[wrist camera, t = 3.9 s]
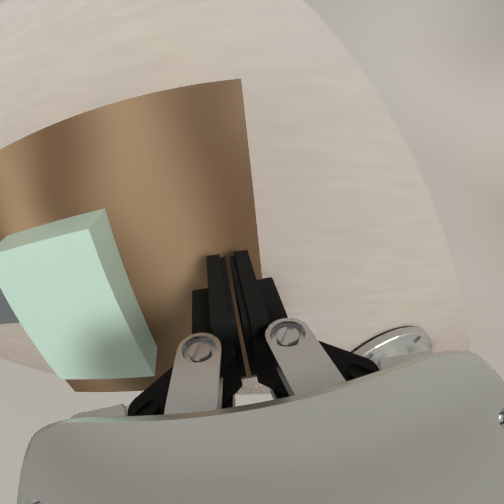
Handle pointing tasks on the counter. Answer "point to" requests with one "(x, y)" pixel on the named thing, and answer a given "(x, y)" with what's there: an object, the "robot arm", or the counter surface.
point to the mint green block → (77, 299)
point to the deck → (146, 198)
